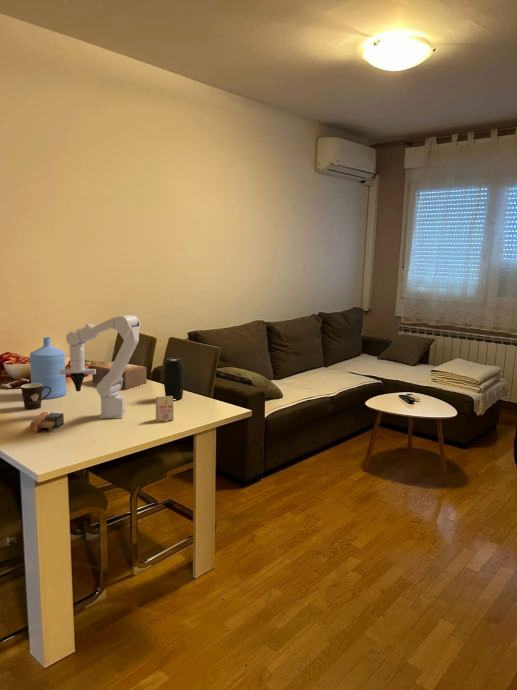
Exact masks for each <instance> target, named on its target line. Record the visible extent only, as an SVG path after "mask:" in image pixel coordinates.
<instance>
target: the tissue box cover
mask: <svg viewBox="0 0 517 690" xmlns="http://www.w3.org/2000/svg"><path fill="white" fill-rule="evenodd" d="M113 363H114V361H107V362H103V363H99V364H92V365H91V369H96V374H91V375H92V377H91V378H92V384H94V383H96V384H95V385H98V383H99V382H101V381H102V379H103V378H104V377H105V376H106V375H107V374H108V373H109V371H110V369H111V367H112V365H113ZM121 377H122V378H123V381H122V387H121V389H120V390H123V389H125V390H124V391H128V390H127V389H129V390H131V389H130V388H133V389H135V388H134V387H137V386H140V385H143V384H146V383H147V382H148V381H147V380H148V379H147V377H148V376H147V367H146V366H143V365H142V366H141V365H137V364H132V363H131V364H130V363H128V364H127V366H126V368H125V370H124V372H123V374H122V376H121ZM137 388H138V387H137Z"/></svg>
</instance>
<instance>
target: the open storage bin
mask: <svg viewBox="0 0 517 690" xmlns="http://www.w3.org/2000/svg"><path fill="white" fill-rule="evenodd" d="M45 419H55V424H54V425H53V426H52V429H59V428H60V426H61V427H62V426H64V425H65V424H64V423H65V422H64V421H65V420H64V419H65V418H64V413H62V412H61V413H60V412H58V413H57V412H50V413H48V415H46V416H45ZM63 424H64V425H63Z"/></svg>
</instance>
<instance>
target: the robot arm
mask: <svg viewBox="0 0 517 690" xmlns="http://www.w3.org/2000/svg"><path fill="white" fill-rule="evenodd" d="M141 326H142V324H141V322H140V320H139V317H138V316H137V315H135V314H128V315H118V316H116V317H111V318H109V319H107V320H105V321H102V322H101V323H99V324H96V325H95V324H90V323H87V324H85V326H84V327H81V328H80V327H79V328H76V331H73V330H71V331H69V332H68V333H67V334H66V337H65V339H66V343H67V344H68V345H69V363H70V368H65V369H60V370H59V374H60V375H62V374H66V375H70V379H71V381H72V382H73V383H72V384H73V385H74V387H75V391H76V392H81V390H82V386H83V381H84V379H85V377H86V375H92V374H96V369H92V368H86V367H85V364H86V363H85V345H86V342H88V341H90V340H93V339H96V338H97V337H99V334H100V333H102V332H105V331H108V330H111V329H113V330H116V331H117V332H118V334H119V336H120V337H121V338H122V340H123V342H122V344H121V346H120V348H119V351H118V353H117V355H116V357H115V359H114V363H113V365H112V367H111V369H110V371H109V373H108V374H107V375H106V376H105V377H104V378H103V379H102V381H101V382H99V383H98V384H96V391H97V393H98V395H99V397H100V415H99V416H98V419H123V417H124V415H125V414H126V411H125V410H126V409H125V408H126V406H125V395H123V394H120V391H121V390H122V389H121V387H122V381H123V378H122V377H121V376H122V374H123V372H124V370H125V368H126V366H127V364H129V362H130V361H131V358H132V356H133V355H134V352H135V350H136V349H137V345H138V344H139V342H140V341H139V340H140V327H141Z"/></svg>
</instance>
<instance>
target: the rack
mask: <svg viewBox="0 0 517 690" xmlns="http://www.w3.org/2000/svg"><path fill="white" fill-rule="evenodd" d="M48 414H49V413H48V411H42V412H41V413H40V414H38V416H36V417H35V418H34V419H33V420H32V421H31V422H30V434H38V433H39V431H41V429H42V428H45V429H48V432H49V433H52V432H53V428H52V426H53V425H54V424H55V419H45V416H46V415H48Z"/></svg>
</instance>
